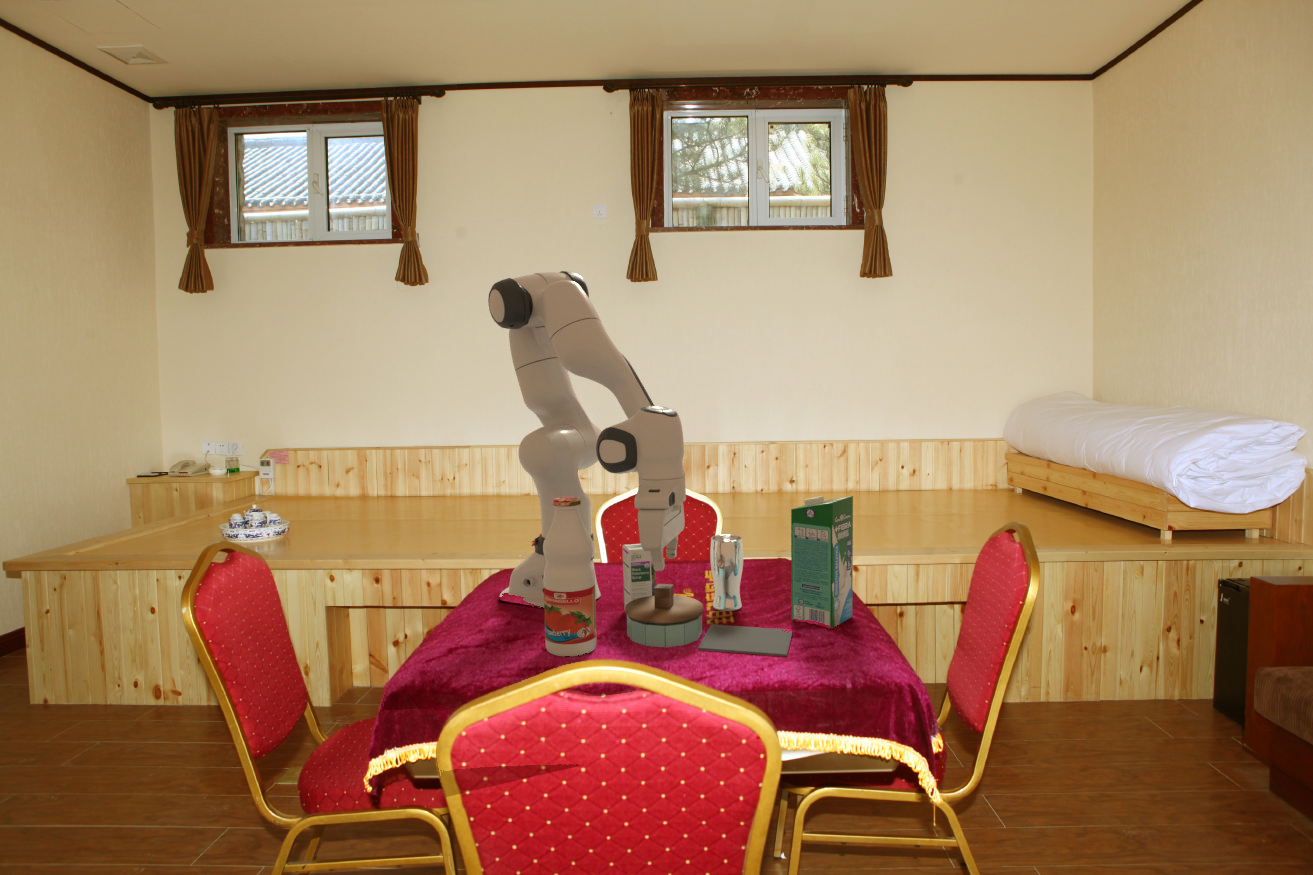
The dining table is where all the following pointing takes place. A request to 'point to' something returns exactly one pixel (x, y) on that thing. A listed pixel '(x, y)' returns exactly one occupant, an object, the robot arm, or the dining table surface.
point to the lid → (664, 607)
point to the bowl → (664, 632)
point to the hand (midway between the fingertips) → (665, 563)
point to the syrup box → (637, 573)
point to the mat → (746, 640)
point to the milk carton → (822, 560)
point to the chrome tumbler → (726, 571)
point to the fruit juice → (569, 583)
